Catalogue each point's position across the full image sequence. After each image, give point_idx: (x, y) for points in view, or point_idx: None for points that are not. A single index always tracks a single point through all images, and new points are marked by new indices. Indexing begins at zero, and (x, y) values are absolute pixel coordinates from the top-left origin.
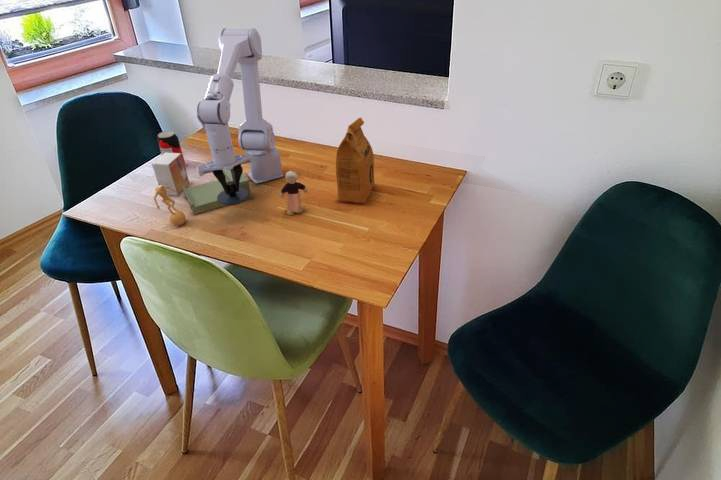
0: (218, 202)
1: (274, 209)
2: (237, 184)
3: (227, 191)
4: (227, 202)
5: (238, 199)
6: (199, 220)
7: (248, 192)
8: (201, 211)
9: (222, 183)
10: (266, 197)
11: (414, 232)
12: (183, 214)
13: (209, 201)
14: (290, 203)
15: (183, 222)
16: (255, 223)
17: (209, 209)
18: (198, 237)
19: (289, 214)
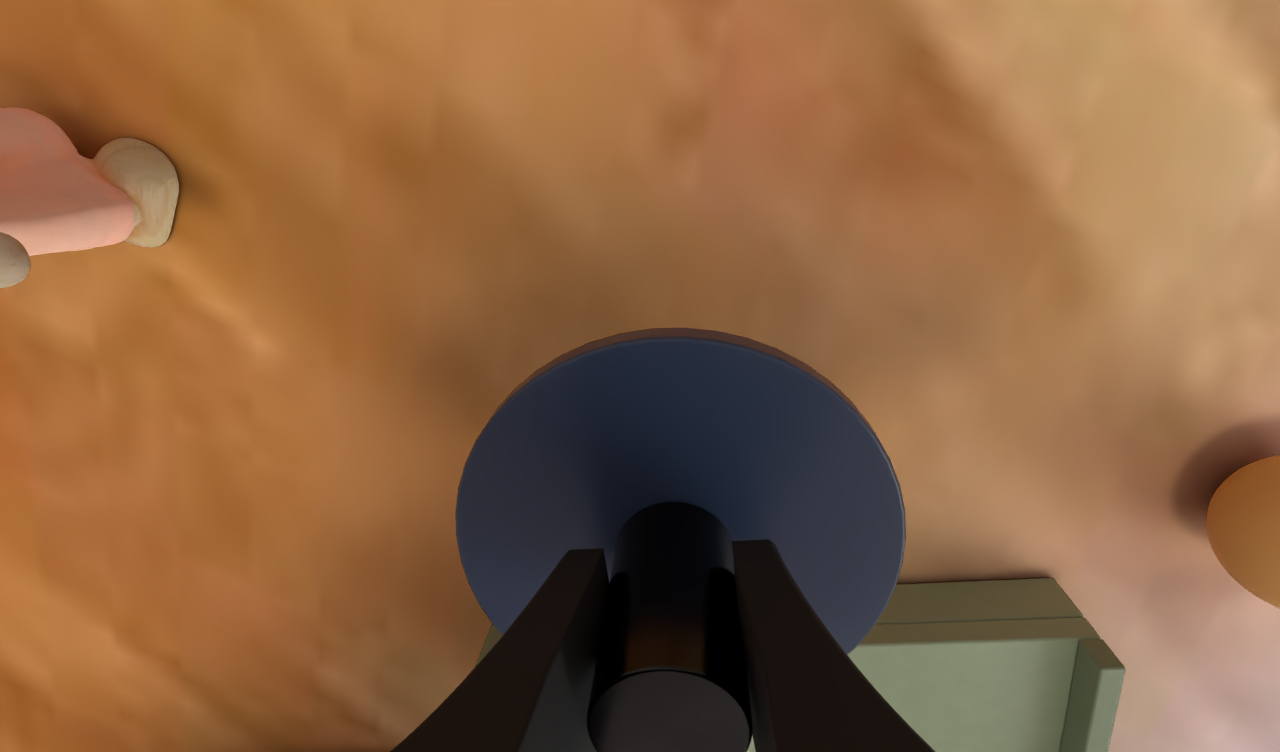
0: None
1: (309, 329)
2: (532, 635)
3: (756, 571)
4: (796, 396)
5: (616, 404)
6: (1049, 466)
7: None
8: (984, 588)
9: (875, 727)
10: (373, 555)
11: None
12: (1276, 541)
13: (903, 662)
14: (5, 189)
15: (1245, 468)
16: (528, 147)
17: (903, 589)
18: (1196, 145)
19: (144, 146)
